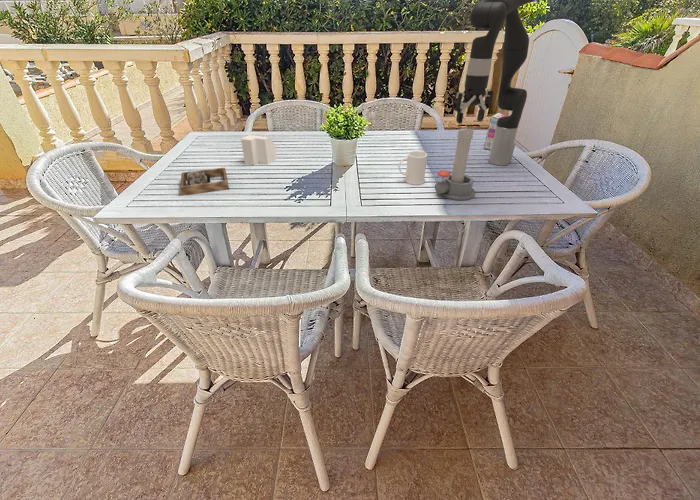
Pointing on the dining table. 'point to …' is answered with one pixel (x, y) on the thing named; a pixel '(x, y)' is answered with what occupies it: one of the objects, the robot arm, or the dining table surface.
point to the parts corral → (205, 186)
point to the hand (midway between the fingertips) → (469, 122)
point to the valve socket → (455, 187)
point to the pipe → (461, 154)
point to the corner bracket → (258, 150)
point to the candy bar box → (492, 130)
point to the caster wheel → (197, 178)
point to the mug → (415, 167)
